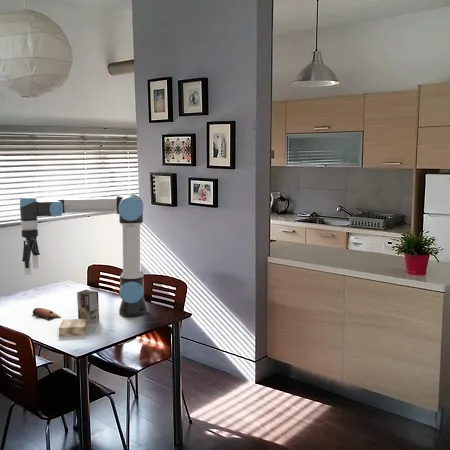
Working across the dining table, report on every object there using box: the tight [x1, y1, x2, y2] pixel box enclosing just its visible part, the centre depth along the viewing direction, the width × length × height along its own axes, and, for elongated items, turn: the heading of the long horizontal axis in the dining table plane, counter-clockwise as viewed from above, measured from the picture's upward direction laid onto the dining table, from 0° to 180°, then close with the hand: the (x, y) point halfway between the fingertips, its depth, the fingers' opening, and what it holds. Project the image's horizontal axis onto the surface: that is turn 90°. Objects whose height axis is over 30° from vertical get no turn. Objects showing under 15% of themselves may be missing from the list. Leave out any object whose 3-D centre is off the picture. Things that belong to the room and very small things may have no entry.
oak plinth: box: [58, 318, 90, 337], centre depth 241 cm, size 12×12×4 cm
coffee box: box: [76, 289, 100, 325], centre depth 255 cm, size 9×6×16 cm
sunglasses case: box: [32, 307, 62, 321], centre depth 266 cm, size 18×7×7 cm
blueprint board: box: [56, 324, 104, 338], centre depth 241 cm, size 20×14×1 cm
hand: (32, 271), depth 249 cm, fingers open, 13 cm apart
